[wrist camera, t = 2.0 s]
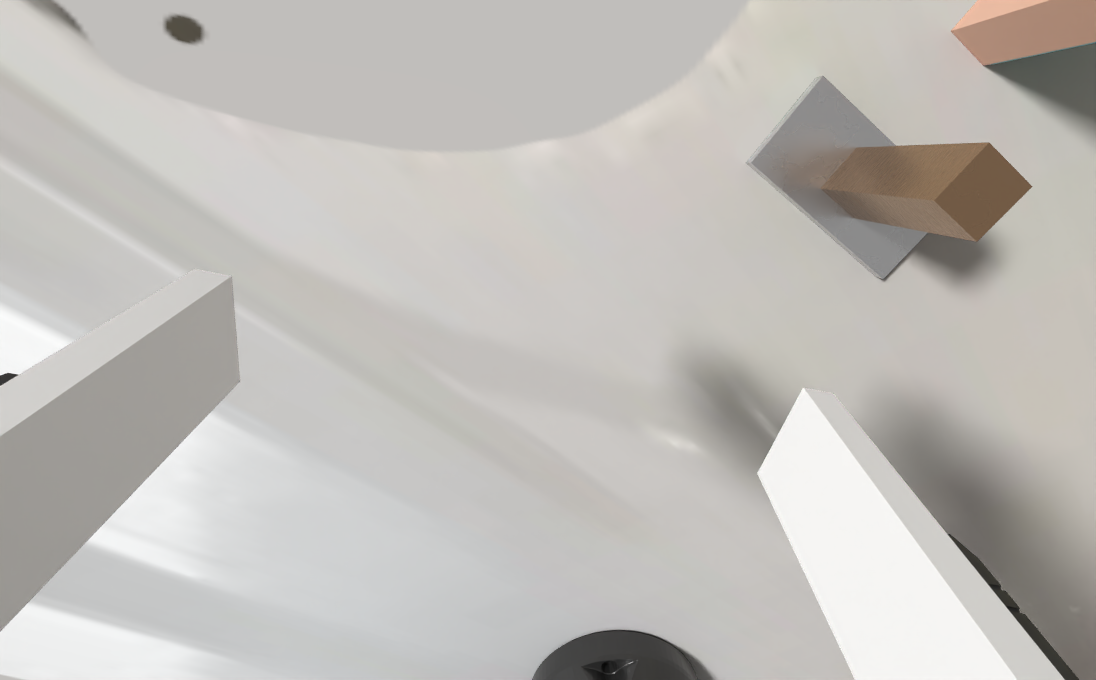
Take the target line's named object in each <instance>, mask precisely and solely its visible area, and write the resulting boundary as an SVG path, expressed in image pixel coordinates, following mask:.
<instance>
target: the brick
mask: <svg viewBox="0 0 1096 680" xmlns="http://www.w3.org/2000/svg"><path fill="white" fill-rule="evenodd" d="M951 32H952V33H953V34H954V35H955V36H956V37H957V38H958V39H959V40H960V41H961V43H962V44H963V45H964V46H965V47H966V48H967V49H968V50H969V51H970V52H971V53H972V54H973V55H974V56H975V57H976V59H977V60H978V61H979V62H980V63H981V64H982V65H983V66H984V65H989V64H991V65H993V64H998V63H1003V62H1008V61H1012V60H1017V59H1022V58H1027V57H1032V56H1036V55H1041V54H1046V53H1051V52H1055V51H1060V50H1065V49H1070V48H1075V47H1079V46H1084V45H1089V44H1094V43H1096V0H977V2H976V3H975V4H974V5H973V6H972V7H971V8H970V10H969V11H968V12H967V13H966V14H965V15H964V16H963V18H962V19H961V20H960V21H959V22H958V23H957V24H956V26H955V27H954V28H953V29H952V30H951Z"/></svg>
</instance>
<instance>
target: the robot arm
mask: <svg viewBox="0 0 1096 680" xmlns="http://www.w3.org/2000/svg"><path fill="white" fill-rule="evenodd" d="M239 382H240V374H239V361H238V348H237V336H236V323H235V311H234V298H233V285H232V276H229V275H224V274H219V273H214V272H209V271H204V270H198V269H194V270H192V271H190V272H189V273H187V274H185V275H184V276H182V277H180V278H179V279H177V280H175V281H174V282H172V283H170V284H169V285H167V286H165V287H164V288H162V289H160V290H159V291H157V292H155V293H154V294H152V295H150V296H149V297H147V298H145V299H144V300H142V301H141V302H139V303H137V304H136V305H134V306H132V307H131V308H129V309H127V310H126V311H124V312H122V313H121V314H119V315H117V316H116V317H114V318H112V319H111V320H109V321H107V322H106V323H104V324H102V325H101V326H99V327H97V328H96V329H94V330H92V331H91V332H89V333H87V334H86V335H84V336H82V337H81V338H79V339H77V340H76V341H74V342H72V343H71V344H69V345H67V346H66V347H64V348H63V349H61V350H59V351H58V352H56V353H54V354H53V355H51V356H49V357H48V358H46V359H44V360H43V361H41V362H39V363H38V364H36V365H34V366H33V367H31V368H29V369H28V370H26V371H24V372H23V373H21V374H19V375H17V374H11V373H7V374H4V375H1V376H0V631H1V630H2V629H3V628H4V627H5V626H6V625H7V624H8V623H9V622H10V621H11V620H12V619H13V618H14V617H15V616H16V615H17V614H18V613H19V611H20V610H21V609H22V608H23V607H24V606H25V605H26V604H27V603H28V602H29V601H30V600H31V599H32V598H33V597H34V596H35V595H36V594H37V593H38V592H39V591H40V590H41V589H42V587H43V586H44V585H45V584H46V583H47V582H48V581H49V580H50V579H51V578H52V577H53V576H54V575H55V574H56V573H57V572H58V571H59V570H60V569H61V568H62V567H63V566H64V565H65V563H66V562H67V561H68V560H69V559H70V558H71V557H72V556H73V555H74V554H75V553H76V552H77V551H78V550H79V549H80V548H81V547H82V546H83V545H84V544H85V543H86V542H87V541H88V539H89V538H90V537H91V536H92V535H93V534H94V533H95V532H96V531H97V530H98V529H99V528H100V527H101V526H102V525H103V524H104V523H105V522H106V521H107V520H108V519H109V518H110V517H111V515H112V514H113V513H114V512H115V511H116V510H117V509H118V508H119V507H120V506H121V505H122V504H123V503H124V502H125V501H126V500H127V499H128V498H129V497H130V496H131V495H132V494H133V493H134V491H135V490H136V489H137V488H138V487H139V486H140V485H141V484H142V483H143V482H144V481H145V480H146V479H147V478H148V477H149V476H150V475H151V474H152V473H153V472H154V471H155V470H156V468H157V467H158V466H159V465H160V464H161V463H162V462H163V461H164V460H165V459H166V458H167V457H168V456H169V455H170V454H171V453H172V452H173V451H174V450H175V449H176V448H177V447H178V446H179V444H180V443H181V442H182V441H183V440H184V439H185V438H186V437H187V436H188V435H189V434H190V433H191V432H192V431H193V430H194V429H195V428H196V427H197V426H198V425H199V424H200V423H201V422H202V420H203V419H204V418H205V417H206V416H207V415H208V414H209V413H210V412H211V411H212V410H213V409H214V408H215V407H216V406H217V405H218V404H219V403H220V402H221V401H222V400H223V399H224V398H225V396H226V395H227V394H228V393H229V392H230V391H231V390H232V389H233V388H234V387H235V386H236V385H237V384H238V383H239ZM757 474H758V476H759V478H760V480H761V482H762V484H763V487H764V489H765V491H766V493H767V495H768V497H769V499H770V501H771V503H772V505H773V508H774V510H775V512H776V514H777V516H778V518H779V520H780V522H781V524H782V527H783V529H784V531H785V533H786V535H787V537H788V539H789V541H790V543H791V546H792V548H793V550H794V552H795V554H796V556H797V558H798V560H799V562H800V565H801V567H802V569H803V571H804V573H805V575H806V577H807V579H808V581H809V584H810V586H811V588H812V590H813V592H814V594H815V596H816V598H817V600H818V603H819V605H820V607H821V609H822V611H823V613H824V615H825V617H826V619H827V621H828V624H829V626H830V628H831V630H832V632H833V634H834V636H835V638H836V640H837V643H838V645H839V647H840V649H841V651H842V653H843V655H844V657H845V659H846V662H847V664H848V666H849V668H850V670H851V672H852V674H853V676H854V678H855V680H1079V679H1078V678H1077V677H1076V675H1075V674H1074V673H1073V672H1072V671H1071V669H1070V668H1069V667H1068V666H1067V665H1066V663H1065V662H1064V661H1063V660H1062V659H1061V657H1060V656H1059V655H1058V654H1057V652H1056V651H1055V650H1054V649H1053V648H1052V646H1051V645H1050V644H1049V643H1048V642H1047V640H1046V639H1045V638H1044V637H1043V636H1042V634H1041V633H1040V632H1039V631H1038V630H1037V628H1036V627H1035V626H1034V625H1033V624H1032V622H1031V621H1030V620H1029V619H1028V618H1027V616H1026V615H1025V614H1022V613H1020V612H1019V607H1018V606H1017V604H1016V603H1015V602H1014V601H1013V599H1012V598H1011V597H1010V596H1009V595H1008V593H1007V592H1006V591H1002V590H1001V588H1000V587H1001V585H1000V584H999V583H998V581H997V580H996V579H995V578H994V577H993V575H992V574H991V573H990V572H989V571H988V569H987V568H986V567H985V566H984V565H983V563H982V562H981V561H980V560H979V559H978V558H977V557H976V556H975V555H974V554H972V553H971V552H970V551H969V550H968V549H967V548H965V547H964V546H963V545H962V544H961V543H960V542H958V541H957V540H956V539H955V538H954V537H952V536H951V535H950V534H947V533H946V532H945V531H944V530H943V528H942V527H941V526H940V525H939V523H938V522H937V521H936V520H935V518H934V517H933V516H932V515H931V513H930V512H929V511H928V510H927V508H926V507H925V506H924V505H923V504H922V502H921V501H920V500H919V499H918V497H917V496H916V495H915V494H914V492H913V491H912V490H911V489H910V487H909V486H908V485H907V484H906V482H905V481H904V480H903V479H902V477H901V476H900V475H899V474H898V473H897V471H896V470H895V469H894V468H893V466H892V465H891V464H890V463H889V461H888V460H887V459H886V458H885V456H884V455H883V454H882V453H881V451H880V450H879V449H878V448H877V447H876V445H875V444H874V443H873V442H872V440H871V439H870V438H869V437H868V435H867V434H866V433H865V432H864V430H863V429H862V428H861V427H860V425H859V424H858V423H857V422H856V421H855V419H854V418H853V417H852V416H851V414H850V413H849V412H848V411H847V409H846V408H845V407H844V406H843V404H842V403H841V402H840V401H839V399H838V398H837V397H836V396H835V395H834V393H830V392H824V391H819V390H814V389H809V388H804V387H803V389H802V391H801V393H800V395H799V396H798V398H797V400H796V402H795V404H794V406H793V408H792V410H791V411H790V413H789V415H788V417H787V419H786V421H785V423H784V424H783V426H782V428H781V430H780V432H779V434H778V436H777V438H776V439H775V441H774V443H773V445H772V447H771V449H770V451H769V453H768V454H767V456H766V458H765V460H764V462H763V464H762V466H761V467H760V469H759V471H758V473H757ZM532 680H697V678H696V674H695V672H694V670H693V668H692V666H691V664H690V663H689V661H688V660H687V659H686V657H685V656H684V655H683V654H682V653H681V652H680V651H678V650H677V649H676V648H674V647H673V646H672V645H670V644H668V643H666V642H665V641H663V640H660V639H658V638H655V637H653V636H650V635H646V634H642V633H637V632H629V631H607V632H600V633H594V634H590V635H586V636H583V637H580V638H578V639H575V640H573V641H570V642H568V643H567V644H565V645H563V646H561V647H560V648H558V649H557V650H555V651H554V652H553V653H552V654H550V655H549V656H548V657H547V658H546V659H545V660H544V661H543V662H542V664H541V665H540V666H539V668H538V669H537V671H536V672H535V674H534V676H533V679H532Z"/></svg>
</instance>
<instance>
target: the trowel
mask: <svg viewBox="0 0 1096 680" xmlns="http://www.w3.org/2000/svg"><path fill="white" fill-rule="evenodd" d="M746 163H747V164H748V165H749V166H750V167H751V168H752V169H753V170H754V171H756V172H757V173H758V174H759V175H760V176H761V177H762V178H764V179H765V180H766V181H767V182H768V183H769V184H770V185H772V186H773V187H774V188H775V189H776V190H777V191H778V192H780V193H781V194H782V195H783V196H784V197H785V198H786V199H788V200H789V201H790V202H791V203H792V204H793V205H794V206H795V207H797V208H798V209H799V210H800V211H801V212H802V213H803V214H805V215H806V216H807V217H808V218H809V219H810V220H811V221H813V222H814V223H815V224H816V225H817V226H818V227H819V228H821V229H822V230H823V231H824V232H825V233H826V234H827V235H829V236H830V237H831V238H832V239H833V240H834V241H835V242H836V243H838V244H839V245H840V246H841V247H842V248H843V249H844V250H846V251H847V252H848V253H849V254H850V255H851V256H852V257H854V258H855V259H856V260H857V261H858V262H859V263H860V264H862V265H863V266H864V267H865V268H866V269H867V270H868V271H870V272H871V273H872V274H873V275H874V276H876V277H878V278H881V279H884V278H885V277H886V276H887V275H888V274H889V273H890V271H891V270H892V269H893V268H894V267H895V266H896V265H897V264H898V263H899V262H900V261H901V260H902V259H903V258H904V257H905V256H906V255H907V254H908V253H909V252H910V251H911V250H912V249H913V248H914V247H915V246H916V245H917V244H918V242H919V241H920V240H921V239H922V238H923V237H924V236H925V235H926V234H927V233H933V234H939V235H944V236H949V237H954V238H960V239H965V240H970V241H976V242H977V241H978V240H979V239H980V238H981V237H982V236H983V235H984V234H985V233H986V232H987V231H988V230H989V229H990V228H991V227H992V226H993V225H994V224H995V223H996V222H997V221H998V220H999V219H1000V218H1001V217H1002V216H1003V215H1004V214H1005V213H1006V212H1007V211H1008V210H1009V209H1010V208H1011V207H1012V206H1013V205H1014V204H1015V203H1016V202H1017V201H1018V200H1019V199H1020V198H1021V197H1022V196H1023V195H1024V194H1025V193H1026V192H1027V191H1028V190H1029V189H1030V188H1031V187H1032V186H1031V185H1030V184H1029V183H1028V182H1027V181H1026V180H1025V179H1024V178H1023V177H1022V176H1021V175H1020V174H1019V172H1018V171H1017V170H1016V169H1015V168H1014V167H1013V166H1012V165H1011V164H1010V163H1009V162H1008V161H1007V160H1006V159H1005V158H1004V157H1003V156H1002V155H1001V154H1000V153H999V152H998V151H997V150H996V149H995V148H994V147H993V146H992V145H991V144H990V143H963V144H936V145H909V146H896V145H895V144H893V143H892V142H891V141H890V140H889V139H888V138H887V137H886V136H885V135H884V134H883V133H882V132H881V131H880V130H879V129H878V128H877V127H876V126H875V125H874V124H873V123H872V122H871V121H870V120H869V119H868V118H867V117H865V116H864V115H863V114H862V113H861V112H860V111H859V110H858V109H857V108H856V107H855V106H854V105H853V104H852V103H851V102H850V101H849V100H848V99H847V98H846V97H845V96H844V95H843V94H842V93H841V92H840V91H839V90H837V89H836V88H835V87H834V86H833V85H832V84H831V83H830V82H829V81H828V80H827V79H826V78H825V77H824V76H821V77H817V78H815V79H814V81H813V82H812V83H811V84H810V86H809V87H808V88H807V89H806V90H805V92H804V93H803V94H802V95H801V96H800V98H799V99H798V100H797V101H796V102H795V104H794V105H793V106H792V107H791V109H790V110H789V111H788V112H787V113H786V115H785V116H784V117H783V118H782V119H781V121H780V122H779V123H778V124H777V125H776V127H775V128H774V129H773V130H772V132H771V133H770V134H769V135H768V136H767V138H766V139H765V140H764V141H763V142H762V144H761V145H760V146H759V147H758V149H757V150H756V151H755V152H754V153H753V155H752V156H751V157H750V158H749V159H748V161H747V162H746Z"/></svg>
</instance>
